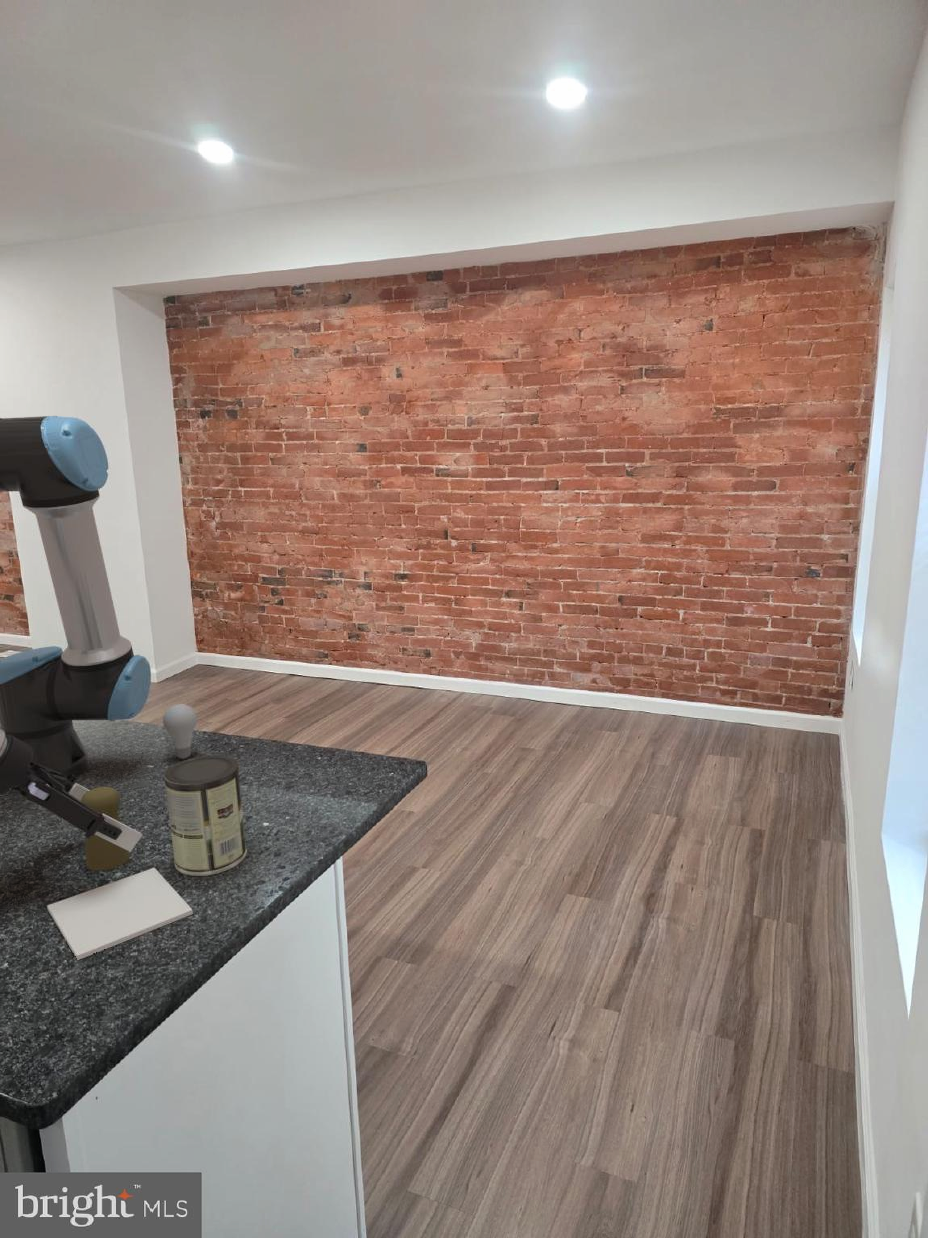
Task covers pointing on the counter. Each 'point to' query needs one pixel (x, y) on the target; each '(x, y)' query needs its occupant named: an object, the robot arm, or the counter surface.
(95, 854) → the cork
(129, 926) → the white pad
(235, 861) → the coffee can
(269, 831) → the counter surface
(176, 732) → the lightbulb
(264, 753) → the counter surface
